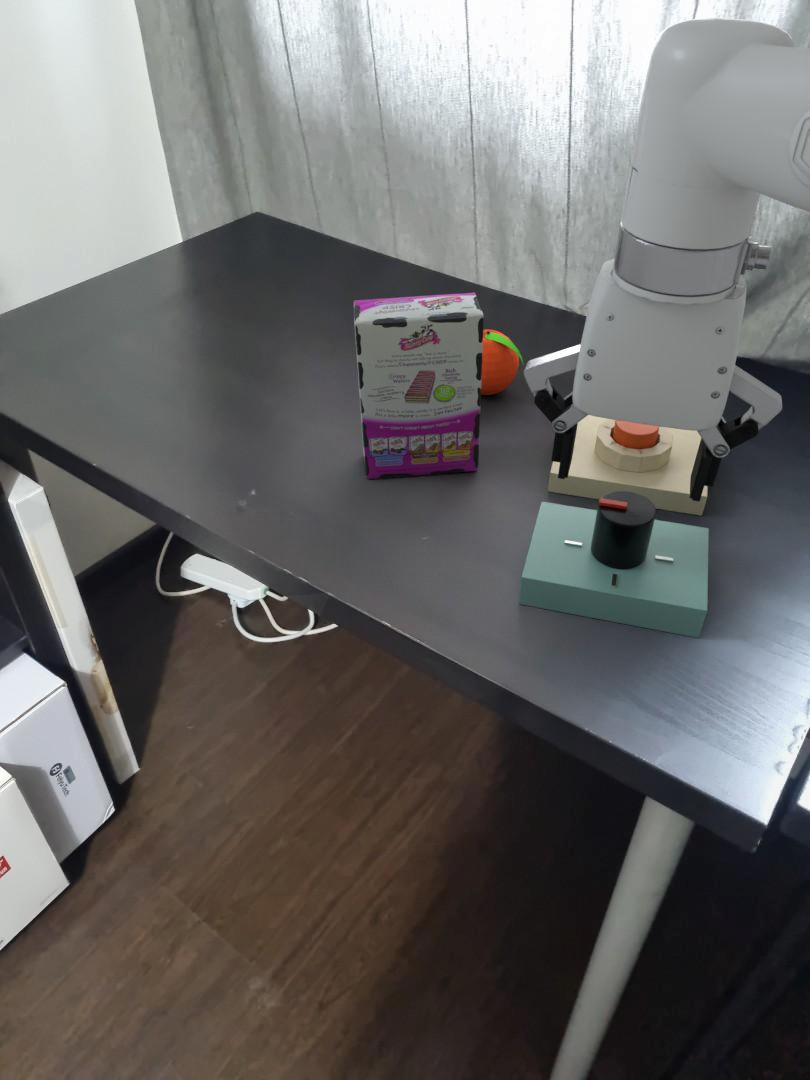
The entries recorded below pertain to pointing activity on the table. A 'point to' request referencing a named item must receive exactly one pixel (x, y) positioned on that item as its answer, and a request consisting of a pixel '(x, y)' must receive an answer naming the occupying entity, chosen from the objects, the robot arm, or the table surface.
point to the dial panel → (617, 574)
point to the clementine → (498, 362)
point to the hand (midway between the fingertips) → (628, 479)
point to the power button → (635, 435)
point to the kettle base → (632, 467)
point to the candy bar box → (419, 383)
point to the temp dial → (622, 529)
